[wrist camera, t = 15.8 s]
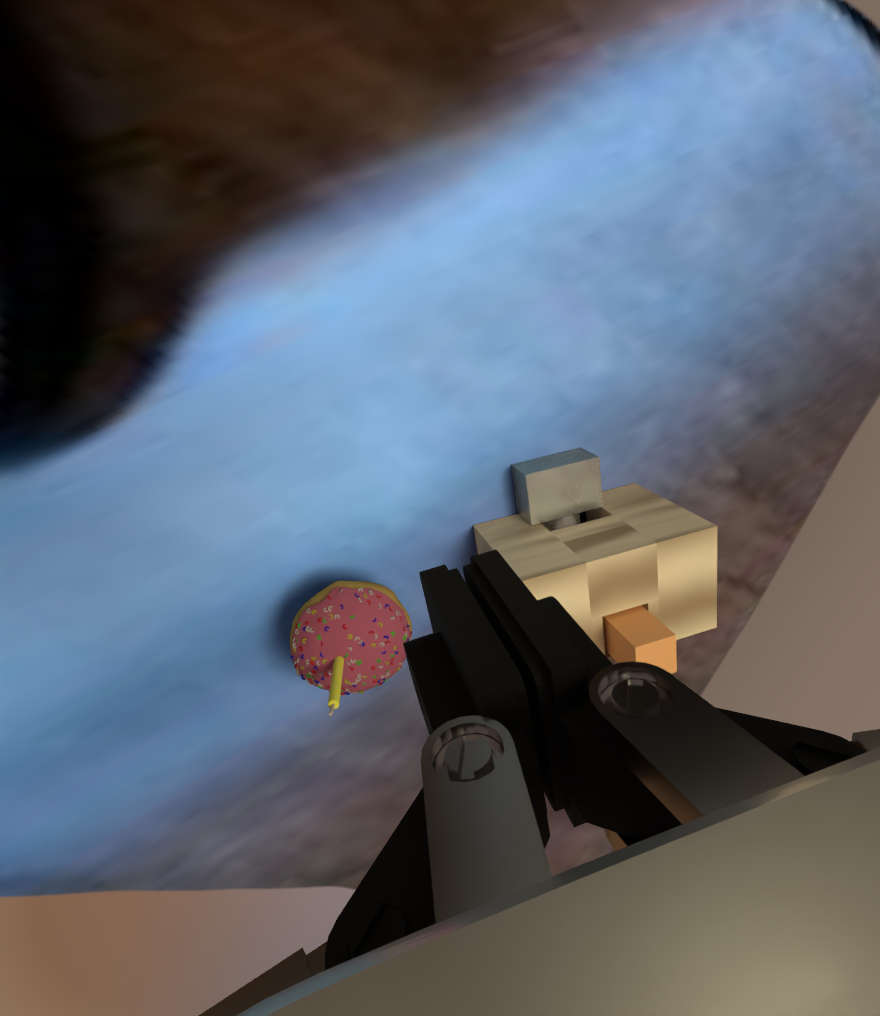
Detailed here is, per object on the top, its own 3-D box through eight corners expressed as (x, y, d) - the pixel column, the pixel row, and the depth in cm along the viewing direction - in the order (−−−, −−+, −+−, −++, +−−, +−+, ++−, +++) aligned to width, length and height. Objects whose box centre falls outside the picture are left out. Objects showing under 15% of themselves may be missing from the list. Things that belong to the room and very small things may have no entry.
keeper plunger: (582, 595, 42) (635, 647, 36) (617, 584, 43) (675, 635, 36) (585, 627, 43) (637, 684, 37) (619, 617, 44) (676, 671, 37)
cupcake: (304, 667, 46) (310, 782, 35) (275, 573, 43) (272, 666, 32) (409, 637, 48) (447, 738, 37) (389, 544, 44) (423, 623, 33)
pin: (510, 464, 45) (525, 475, 42) (580, 447, 46) (599, 456, 43) (536, 657, 51) (550, 677, 49) (596, 638, 52) (613, 657, 50)
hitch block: (473, 525, 46) (520, 581, 36) (634, 483, 48) (717, 525, 39) (487, 612, 48) (534, 684, 39) (639, 568, 51) (716, 627, 42)
